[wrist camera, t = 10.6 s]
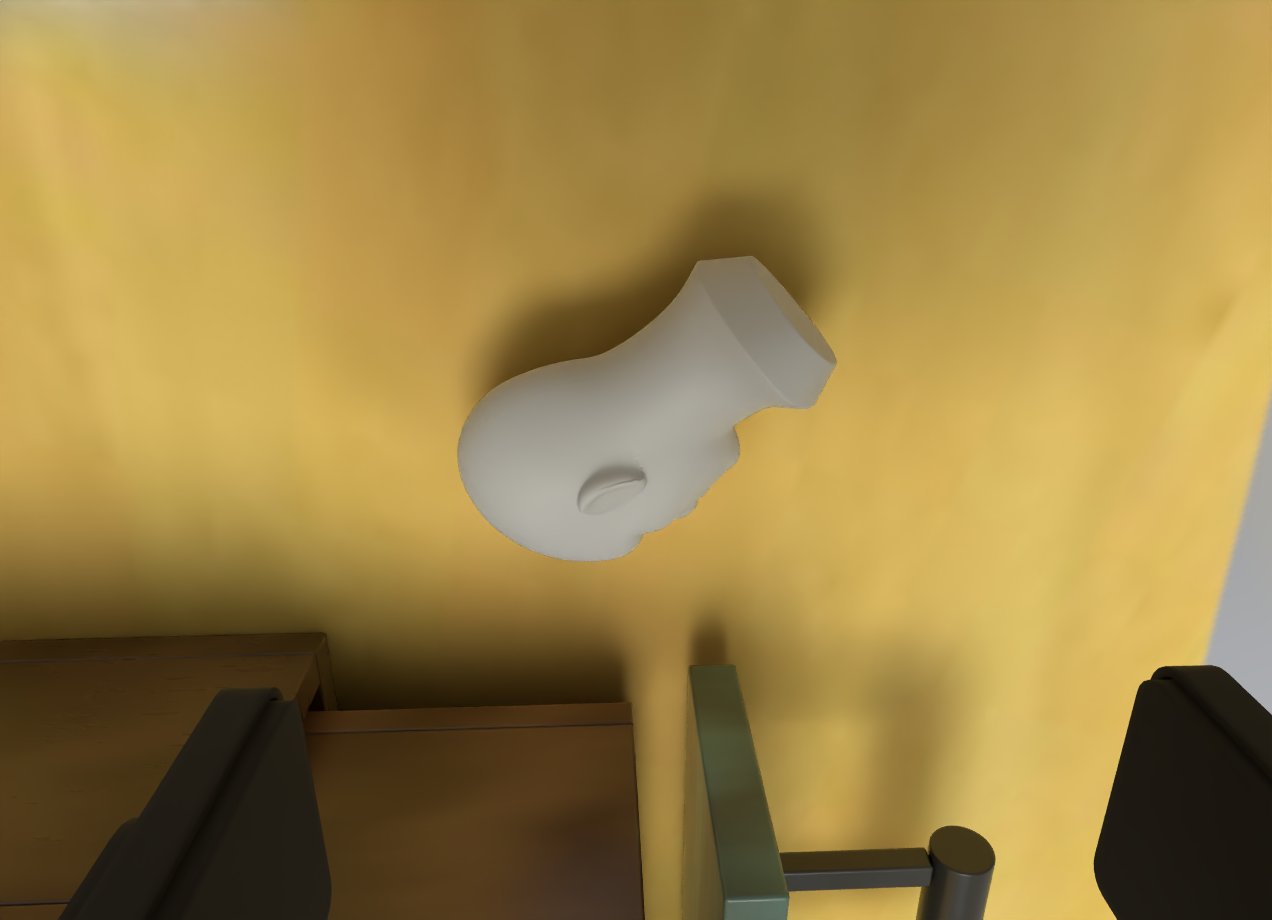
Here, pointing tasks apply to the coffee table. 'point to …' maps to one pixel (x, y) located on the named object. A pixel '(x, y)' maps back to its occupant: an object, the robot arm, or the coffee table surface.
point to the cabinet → (113, 739)
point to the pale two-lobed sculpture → (640, 416)
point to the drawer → (578, 818)
